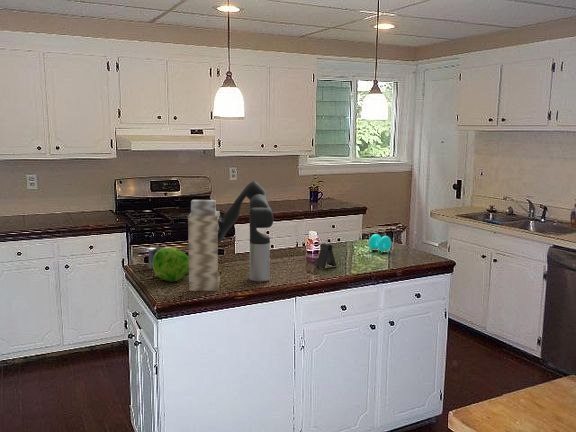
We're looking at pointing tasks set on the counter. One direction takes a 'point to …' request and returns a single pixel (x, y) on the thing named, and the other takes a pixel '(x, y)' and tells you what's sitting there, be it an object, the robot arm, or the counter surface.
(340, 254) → the counter surface
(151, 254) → the flask
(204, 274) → the beige patterned upright block
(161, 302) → the counter surface
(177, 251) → the lettuce
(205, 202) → the grey patterned block
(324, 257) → the door stopper
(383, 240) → the turquoise double oval
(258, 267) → the robot arm
